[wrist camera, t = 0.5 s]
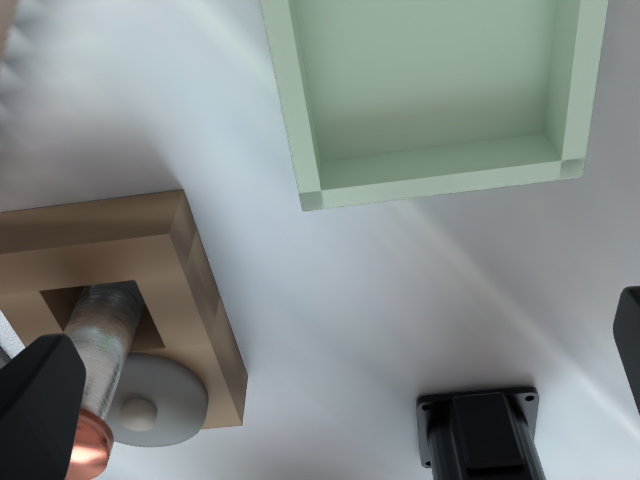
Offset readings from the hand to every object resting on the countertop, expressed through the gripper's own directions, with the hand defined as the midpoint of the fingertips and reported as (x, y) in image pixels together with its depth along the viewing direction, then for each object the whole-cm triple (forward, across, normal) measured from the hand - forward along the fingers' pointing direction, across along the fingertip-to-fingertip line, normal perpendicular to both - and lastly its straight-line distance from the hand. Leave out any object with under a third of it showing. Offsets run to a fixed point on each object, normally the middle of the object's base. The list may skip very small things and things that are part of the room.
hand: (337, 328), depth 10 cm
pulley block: (+14, +10, +11) cm, 21 cm away
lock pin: (+14, +10, +9) cm, 20 cm away
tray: (+14, -3, -1) cm, 14 cm away
